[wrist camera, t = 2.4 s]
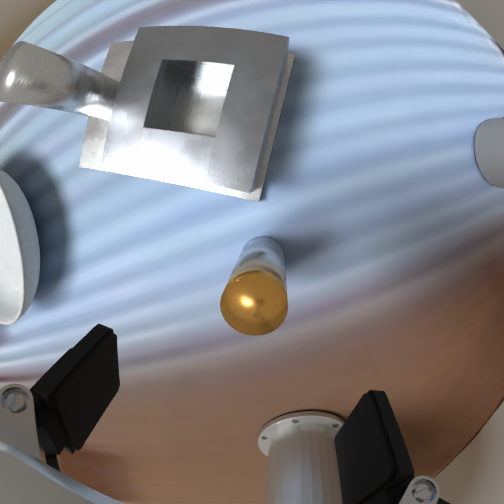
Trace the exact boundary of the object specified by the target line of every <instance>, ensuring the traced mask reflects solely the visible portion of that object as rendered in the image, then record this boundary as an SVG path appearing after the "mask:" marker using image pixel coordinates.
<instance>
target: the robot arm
mask: <svg viewBox="0 0 504 504" xmlns="http://www.w3.org/2000/svg"><path fill="white" fill-rule="evenodd" d="M119 386H120V380H119V368H118V352H117V336H116V334H114V332H113V329H111V328H109V327H106V326H104V325H101V324H97V325H96V326H95V327H94V328H93V329H92V330H91V331H90V332H89V333H88V334H87V335H86V336H84V337H83V338H82V339H81V340H80V341H79V342H78V343H77V344H76V345H75V346H74V347H73V348H71V349H69V350H68V351H67V352H66V353H65V354H64V355H63V356H62V357H61V358H60V359H59V360H58V361H57V362H56V363H55V364H54V365H53V366H52V367H51V368H50V369H49V370H48V371H47V372H46V373H45V374H44V375H43V376H42V377H41V378H40V379H39V380H38V381H37V382H36V384H35V385H34V386H33V387H32V388H31V389H30V390H29V389H27V388H26V387H25V386H23V385H20V384H9V385H7V386H5V387H3V388H2V389H1V390H0V504H124V503H121V502H119V501H116V500H114V499H112V498H110V497H107V496H105V495H103V494H101V493H99V492H97V491H95V490H93V489H91V488H89V487H87V486H85V485H83V484H81V483H79V482H77V481H75V480H73V479H72V478H70V477H68V476H66V475H65V474H64V473H63V470H62V466H61V462H60V458H59V454H60V453H61V451H62V450H63V449H64V450H66V451H67V452H69V453H71V454H72V455H73V453H74V451H75V450H80V449H81V448H82V446H83V445H84V443H85V441H86V440H87V438H88V437H89V435H90V433H91V432H92V430H93V429H94V427H95V426H96V424H97V422H98V421H99V419H100V418H101V416H102V415H103V413H104V412H105V410H106V408H107V407H108V405H109V404H110V402H111V401H112V399H113V398H114V396H115V395H116V393H117V392H118V389H119ZM258 446H259V449H260V450H261V451H262V453H264V454H265V455H266V456H268V464H267V478H266V491H265V503H264V504H450V503H448V502H446V501H444V500H442V499H441V498H439V495H440V490H439V486H438V484H437V483H436V482H435V480H433V479H432V478H430V477H428V476H418V477H416V478H415V477H414V473H415V472H414V469H413V466H412V463H411V460H410V457H409V454H408V451H407V448H406V446H405V443H404V440H403V437H402V434H401V432H400V429H399V426H398V424H397V421H396V418H395V416H394V413H393V410H392V408H391V405H390V403H389V400H388V398H387V395H386V393H385V392H384V391H377V390H370V391H368V393H365V394H364V395H363V396H362V397H361V399H360V401H359V402H358V404H357V405H356V407H355V408H354V410H353V411H352V413H351V414H350V416H349V417H348V418H347V420H346V421H345V422H344V421H343V420H342V419H340V418H339V417H337V416H335V415H333V414H329V413H325V412H318V411H303V412H295V413H290V414H286V415H283V416H280V417H278V418H276V419H274V420H272V421H270V422H269V423H267V424H266V425H265V426H264V427H263V428H262V429H261V431H260V432H259V436H258Z"/></svg>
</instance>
